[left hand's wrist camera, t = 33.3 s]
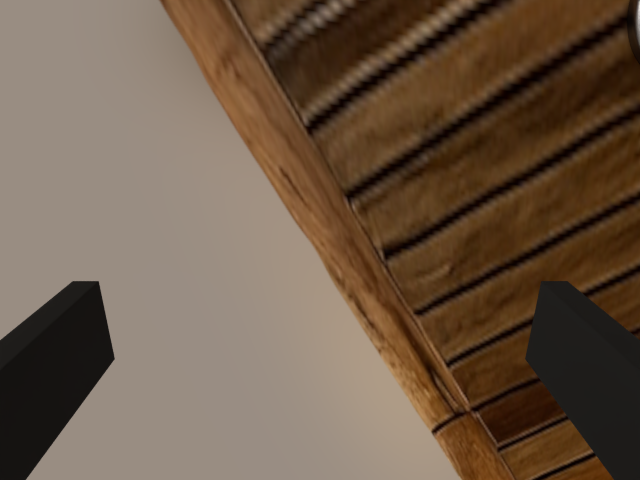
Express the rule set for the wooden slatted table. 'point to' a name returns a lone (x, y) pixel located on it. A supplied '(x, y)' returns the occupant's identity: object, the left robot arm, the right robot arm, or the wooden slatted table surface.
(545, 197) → the wooden slatted table surface
